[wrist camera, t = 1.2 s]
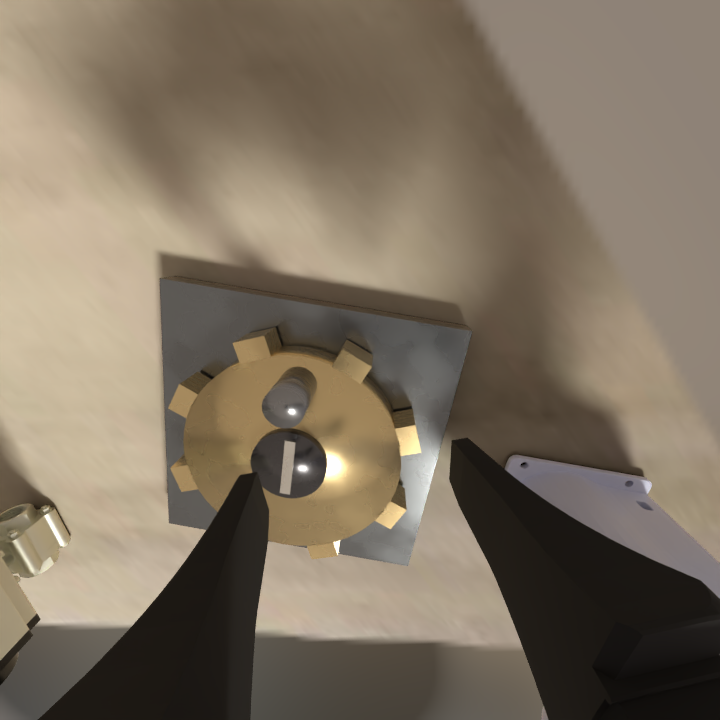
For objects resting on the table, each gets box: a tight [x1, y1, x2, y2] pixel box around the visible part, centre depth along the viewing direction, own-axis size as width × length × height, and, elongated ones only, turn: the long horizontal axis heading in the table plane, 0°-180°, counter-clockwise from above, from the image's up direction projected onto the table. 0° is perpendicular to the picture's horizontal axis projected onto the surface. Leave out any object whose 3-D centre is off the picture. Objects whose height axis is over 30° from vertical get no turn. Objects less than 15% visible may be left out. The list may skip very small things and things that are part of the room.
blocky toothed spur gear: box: [168, 327, 421, 559], centre depth 19 cm, size 15×15×5 cm
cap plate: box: [160, 276, 472, 566], centre depth 23 cm, size 18×18×2 cm
